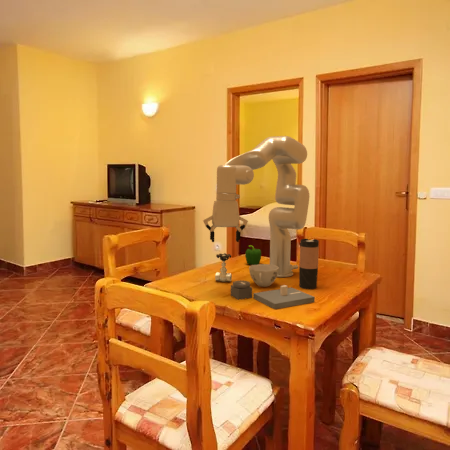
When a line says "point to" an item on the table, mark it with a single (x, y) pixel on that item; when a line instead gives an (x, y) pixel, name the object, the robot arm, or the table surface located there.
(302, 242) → the travel mug
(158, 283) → the table surface
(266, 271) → the teacup
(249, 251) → the bell pepper
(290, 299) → the hub plate
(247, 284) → the knob
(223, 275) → the valve
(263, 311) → the table surface
